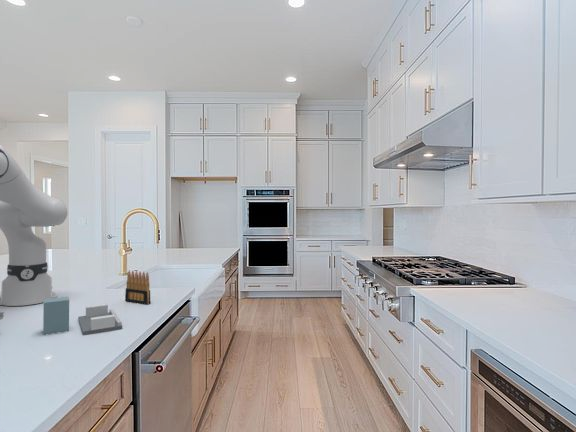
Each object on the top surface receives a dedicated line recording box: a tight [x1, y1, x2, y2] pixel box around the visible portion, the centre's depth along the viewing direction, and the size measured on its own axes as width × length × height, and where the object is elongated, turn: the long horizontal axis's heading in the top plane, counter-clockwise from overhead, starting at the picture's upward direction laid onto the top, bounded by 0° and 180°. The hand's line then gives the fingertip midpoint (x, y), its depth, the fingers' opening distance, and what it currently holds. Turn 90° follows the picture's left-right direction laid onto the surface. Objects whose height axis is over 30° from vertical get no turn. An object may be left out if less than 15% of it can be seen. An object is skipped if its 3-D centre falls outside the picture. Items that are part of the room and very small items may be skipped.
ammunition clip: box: [124, 270, 151, 306], centre depth 130 cm, size 11×2×12 cm, turn 69°
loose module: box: [42, 296, 70, 336], centre depth 98 cm, size 4×6×9 cm
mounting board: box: [77, 303, 123, 336], centre depth 105 cm, size 16×10×4 cm, turn 35°
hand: (1, 319), depth 91 cm, fingers open, 8 cm apart
